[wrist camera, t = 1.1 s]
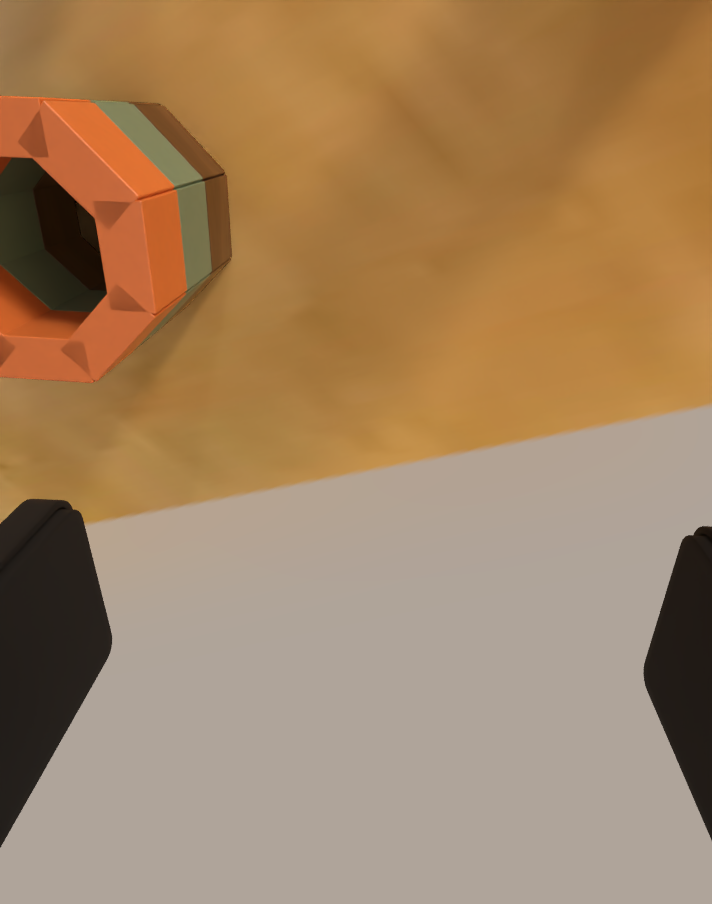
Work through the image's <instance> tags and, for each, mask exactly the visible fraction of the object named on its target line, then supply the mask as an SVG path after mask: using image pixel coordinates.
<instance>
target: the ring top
mask: <svg viewBox="0 0 712 904" xmlns="http://www.w3.org/2000/svg"><path fill="white" fill-rule="evenodd" d="M11 158H33V159H34V160H35V161H36V162H37V163H38V164H39V165H40V166H41V167H42V168H43V169H44V170H45V171H46V172H47V173H48V174H49V175H50V176H51V177H52V178H53V179H54V180H55V181H56V182H57V183H58V184H59V185H61V186H62V187H63V188H64V189H65V190H66V191H67V192H68V193H69V194H70V195H71V196H72V197H73V198H74V199H75V200H76V201H77V202H78V203H79V204H80V205H81V206H82V207H83V208H84V209H85V210H86V211H87V212H88V213H90V214H91V215H92V216H93V217H94V218H95V223H96V229H97V235H98V241H99V247H100V253H101V259H102V265H103V271H104V277H105V283H106V289H107V294H106V295H105V297H104V298H103V299H102V300H101V301H100V302H99V304H98V305H97V306H96V307H95V308H94V310H93V311H92V312H76V311H59V310H51V309H49V308H48V307H47V306H46V305H45V304H44V303H43V302H41V301H40V300H39V299H38V298H37V297H36V296H35V295H34V294H32V293H31V292H30V291H29V290H28V289H27V288H26V287H25V286H23V285H22V284H21V283H20V282H19V281H18V280H17V279H16V278H14V277H13V276H12V275H11V274H10V273H9V272H8V271H7V270H5V269H4V268H3V267H2V266H1V265H0V377H9V378H24V379H40V380H55V381H71V382H86V383H93V382H95V381H98V380H99V379H100V378H102V377H103V376H104V375H105V374H107V373H108V372H109V371H110V370H111V369H113V368H114V367H115V366H116V365H117V364H119V363H120V362H121V361H122V360H123V359H125V358H126V357H127V356H128V355H129V354H131V353H132V352H133V351H134V350H135V349H136V348H137V347H138V346H139V344H140V343H141V342H142V341H143V340H144V339H145V338H146V337H147V336H148V335H149V334H150V333H151V332H152V330H153V329H154V328H155V327H156V326H157V325H158V324H159V323H160V322H161V321H162V320H163V319H164V318H165V316H166V315H167V314H168V313H169V312H170V311H171V310H172V309H173V308H174V307H175V306H176V305H177V303H178V302H179V301H180V300H181V299H182V298H183V297H184V296H185V295H186V293H185V291H187V284H186V274H185V264H184V254H183V244H182V235H181V225H180V215H179V205H178V195H177V191H176V190H173V189H174V185H173V184H172V183H171V182H170V181H169V180H168V179H167V178H166V177H165V175H164V174H163V173H162V172H161V171H160V170H159V169H158V168H157V167H156V166H155V165H154V164H153V163H152V162H151V161H150V160H149V159H148V158H147V157H146V156H145V155H144V154H143V153H142V152H141V151H140V150H139V149H138V147H137V146H136V145H135V144H134V143H133V142H132V141H131V140H130V139H129V138H128V137H127V136H126V135H125V134H124V133H123V132H122V131H121V130H120V129H119V128H118V127H117V126H116V125H115V124H114V123H113V122H112V121H111V120H110V118H109V117H108V116H107V115H106V114H105V113H104V112H103V111H102V110H101V109H100V108H99V107H98V106H97V105H96V104H95V103H91V101H90V100H80V99H61V98H43V97H17V96H0V175H1V173H2V172H3V170H4V169H5V167H6V166H7V164H8V163H9V161H10V160H11Z"/></svg>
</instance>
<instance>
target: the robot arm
mask: <svg viewBox="0 0 712 904" xmlns="http://www.w3.org/2000/svg"><path fill="white" fill-rule="evenodd" d="M111 645H112V634H111V629H110V626H109V621H108V617H107V613H106V609H105V606H104V601H103V598H102V594H101V590H100V585H99V581H98V577H97V574H96V570H95V566H94V561H93V558H92V553H91V550H90V545H89V541H88V537H87V533H86V529H85V525H84V521H83V518H82V515H81V513H80V512H79V511H77V510H73V509H72V506H71V505H70V504H69V503H68V502H67V501H64V500H44V499H29V500H26V501H24V502H23V503H21V504H20V505H19V506H18V507H17V508H16V509H15V510H14V511H13V512H12V513H11V514H10V515H9V516H8V517H7V518H6V519H5V520H4V521H3V522H2V523H1V524H0V847H1V845H2V844H3V842H4V840H5V838H6V837H7V835H8V833H9V831H10V830H11V828H12V826H13V824H14V823H15V821H16V819H17V817H18V815H19V814H20V812H21V810H22V808H23V806H24V805H25V803H26V801H27V799H28V798H29V796H30V794H31V793H32V791H33V789H34V787H35V786H36V784H37V782H38V780H39V778H40V777H41V775H42V773H43V771H44V769H45V768H46V766H47V764H48V762H49V761H50V759H51V757H52V756H53V754H54V752H55V750H56V748H57V747H58V745H59V743H60V741H61V739H62V738H63V736H64V734H65V733H66V731H67V729H68V727H69V726H70V724H71V722H72V720H73V719H74V717H75V715H76V713H77V711H78V710H79V708H80V706H81V704H82V703H83V701H84V699H85V697H86V696H87V694H88V692H89V690H90V688H91V687H92V685H93V683H94V682H95V680H96V678H97V676H98V674H99V673H100V671H101V669H102V667H103V665H104V664H105V662H106V660H107V658H108V656H109V654H110V651H111ZM644 681H645V686H646V688H647V691H648V693H649V696H650V698H651V701H652V703H653V705H654V707H655V710H656V712H657V714H658V717H659V719H660V721H661V724H662V726H663V728H664V731H665V733H666V735H667V738H668V740H669V742H670V745H671V747H672V749H673V751H674V754H675V756H676V759H677V761H678V763H679V765H680V768H681V770H682V772H683V775H684V777H685V779H686V782H687V784H688V786H689V789H690V791H691V793H692V795H693V798H694V800H695V803H696V805H697V807H698V810H699V812H700V814H701V816H702V819H703V821H704V823H705V826H706V828H707V830H708V833H709V835H710V837H711V840H712V527H708V526H702V527H700V528H698V529H697V530H696V531H695V533H694V535H693V536H692V535H688V536H686V537H685V538H684V539H683V540H682V543H681V546H680V549H679V552H678V555H677V558H676V562H675V565H674V568H673V572H672V575H671V578H670V581H669V585H668V588H667V591H666V594H665V598H664V601H663V604H662V608H661V611H660V614H659V618H658V621H657V624H656V627H655V631H654V634H653V637H652V641H651V644H650V647H649V650H648V654H647V657H646V660H645V664H644Z"/></svg>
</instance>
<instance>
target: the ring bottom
mask: <svg viewBox="0 0 712 904" xmlns="http://www.w3.org/2000/svg"><path fill="white" fill-rule="evenodd" d="M128 103H129V104H134V105H135V106H136V108H137V109H138V110H139V111H140V112H141V113H142V114H143V115H144V116H145V117H146V118H147V119H148V120H149V121H150V122H151V123H152V124H153V126H154V127H155V128H156V129H157V130H158V131H159V132H160V133H161V134H162V135H163V136H164V137H165V138H166V139H167V140H168V141H169V143H170V144H171V145H172V146H173V147H174V148H175V149H176V150H177V151H178V152H179V153H180V154H181V155H182V156H183V157H184V158H185V159H186V161H187V162H188V163H189V164H190V165H191V166H192V167H193V168H194V169H195V170H196V171H197V172H198V173H199V174H200V175H201V176H202V177H203V179H202V181H204V182H205V191H206V204H207V216H208V228H209V241H210V253H211V266H212V272H211V273H210V276H209V277H208V278H207V280H206V281H205V282H204V283H203V284H202V285H201V286H200V287H199V288H198V289H197V290H196V291H195V292H194V294H193V295H192V296H191V297H190V298H189V299H188V300H187V301H186V302H185V303H184V304H183V305H182V306H181V307H180V309H179V310H178V311H177V312H176V313H175V314H174V315H173V316H172V317H171V318H170V319H169V320H168V321H167V322H166V324H167V323H168V322H169V321H170V320H172V319H173V318H174V317H175V316H176V315H178V314H179V313H180V312H181V311H182V310H184V309H185V308H186V307H187V306H188V305H189V304H190V303H191V302H192V300H193V299H194V298H195V297H196V296H197V295H198V294H199V293H200V292H201V291H202V290H203V289H204V288H205V287H206V286H207V284H208V283H209V282H210V281H211V280H212V279H213V278H214V277H215V276H216V275H217V274H218V273H219V272H220V271H221V270H222V268H223V267H224V266H225V265H226V264H227V263H228V262H229V261H230V260H231V259H230V257H232V251H231V236H230V220H229V205H228V189H227V176H226V175H223V174H224V173H225V172H224V170H223V169H222V168H221V167H220V166H219V165H218V164H217V163H216V162H215V160H214V159H213V158H212V157H211V156H210V155H209V154H208V153H207V152H206V151H205V150H204V149H203V147H202V146H201V145H200V144H199V143H198V142H197V141H196V140H195V139H194V138H193V137H192V136H191V135H190V133H189V132H188V131H187V130H186V129H185V128H184V127H183V126H182V125H181V124H180V123H179V122H178V120H177V119H176V118H175V117H174V116H173V115H172V114H171V113H170V112H169V111H168V110H167V109H166V108H165V106H161V105H160V104H156V103H137V102H128ZM33 195H34V200H35V205H36V210H37V214H38V219H39V224H40V229H41V234H42V239H43V243H44V248H45V250H46V251H47V252H48V253H49V254H51V255H52V256H53V257H54V258H55V259H56V260H57V261H58V262H59V263H60V264H61V265H62V266H64V267H65V268H66V269H67V270H68V271H69V272H70V273H71V274H72V275H73V276H74V277H76V278H77V279H78V280H79V281H80V282H81V283H82V284H83V285H84V286H85V287H86V288H88V289H89V290H100V291H107V289H106V283H105V277H104V271H103V265H102V259H101V255H100V254H99V253H98V252H97V251H96V250H95V249H94V248H93V247H92V246H91V245H90V244H89V243H88V242H86V241H85V240H84V239H83V238H82V237H81V236H80V230H79V224H78V219H77V213H76V207H75V202H74V198H73V197H72V196H71V195H70V194H69V193H68V192H67V191H66V190H65V189H64V188H63V187H62V186H61V185H59V184H58V183H57V182H56V181H55V180H54V179H53V178H52V177H51V176H50V175H49V174H48V173H47V172H46V171H45V173H44V174H43V176H42V177H41V178H40V180H39V181H38V183H37V184H36V185H35V187H34V188H33Z"/></svg>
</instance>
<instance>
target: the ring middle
mask: <svg viewBox="0 0 712 904" xmlns="http://www.w3.org/2000/svg"><path fill="white" fill-rule="evenodd" d="M90 101H91V103H95V104H96V105H97V106H98V107H99V108H100V109H101V110H102V111H103V112H104V113H105V114H106V115H107V116H108V117H109V118H110V120H111V121H112V122H113V123H114V124H115V125H116V126H117V127H118V128H119V129H120V130H121V131H122V132H123V133H124V134H125V135H126V136H127V137H128V138H129V139H130V140H131V141H132V142H133V143H134V144H135V145H136V146H137V147H138V149H139V150H140V151H141V152H142V153H143V154H144V155H145V156H146V157H147V158H148V159H149V160H150V161H151V162H152V163H153V164H154V165H155V166H156V167H157V168H158V169H159V170H160V171H161V172H162V173H163V174H164V175H165V177H166V178H167V179H168V180H169V181H170V182H171V183H172V184H173V185H174V189H173V190H176V191H177V195H178V205H179V215H180V225H181V235H182V244H183V254H184V264H185V274H186V284H187V291H185V293H186V295H185V296H184V297H183V298H182V299H181V300H180V301H179V302H178V303H177V305H176V306H175V307H174V308H173V309H172V310H171V311H170V312H169V313H168V314H167V315H166V316H165V318H164V319H163V320H162V321H161V322H160V323H159V324H158V325H157V326H156V327H155V328H154V329H153V330H152V332H151V333H150V334H149V335H148V336H147V337H146V338H145V339H144V340H143V341H142V342H141V343H140V344H139V346H140V345H141V344H142V343H144V342H145V341H146V340H147V339H149V338H150V337H151V336H152V335H153V334H155V333H156V332H157V331H158V330H159V329H161V328H162V327H163V326H164V325H165V324H166V322H167V321H168V320H169V319H170V318H171V317H172V316H173V315H174V314H175V313H176V312H177V311H178V310H179V309H180V307H181V306H182V305H183V304H184V303H185V302H186V301H187V300H188V299H189V298H190V297H191V296H192V295H193V294H194V292H195V291H196V290H197V289H198V288H199V287H200V286H201V285H202V284H203V283H204V282H205V281H206V280H207V278H208V277H209V276H210V273H211V272H212V266H211V253H210V241H209V228H208V216H207V204H206V191H205V182H204V181H202V179H203V177H202V176H201V175H200V174H199V173H198V172H197V171H196V170H195V169H194V168H193V167H192V166H191V165H190V164H189V163H188V162H187V161H186V159H185V158H184V157H183V156H182V155H181V154H180V153H179V152H178V151H177V150H176V149H175V148H174V147H173V146H172V145H171V144H170V143H169V141H168V140H167V139H166V138H165V137H164V136H163V135H162V134H161V133H160V132H159V131H158V130H157V129H156V128H155V127H154V126H153V124H152V123H151V122H150V121H149V120H148V119H147V118H146V117H145V116H144V115H143V114H142V113H141V112H140V111H139V110H138V109H137V108H136V106H135V105H134V104H129V103H128V102H119V101H100V100H90ZM44 173H45V170H44V169H43V168H42V167H41V166H40V165H39V164H38V163H37V162H36V161H35V160H34V159H33V158H11V160H10V161H9V163H8V164H7V166H6V167H5V169H4V170H3V172H2V173H1V175H0V265H1V266H2V267H3V268H4V269H5V270H7V271H8V272H9V273H10V274H11V275H12V276H13V277H14V278H16V279H17V280H18V281H19V282H20V283H21V284H22V285H23V286H25V287H26V288H27V289H28V290H29V291H30V292H31V293H32V294H34V295H35V296H36V297H37V298H38V299H39V300H40V301H41V302H43V303H44V304H45V305H46V306H47V307H48V308H49V309H51V310H59V311H76V312H92V311H93V310H94V308H95V307H96V306H97V305H98V304H99V302H100V301H101V300H102V299H103V298H104V297H105V295H106V294H107V291H100V290H89V289H88V288H86V287H85V286H84V285H83V284H82V283H81V282H80V281H79V280H78V279H77V278H76V277H74V276H73V275H72V274H71V273H70V272H69V271H68V270H67V269H66V268H65V267H64V266H62V265H61V264H60V263H59V262H58V261H57V260H56V259H55V258H54V257H53V256H52V255H51V254H49V253H48V252H47V251H46V250H45V248H44V243H43V239H42V234H41V229H40V224H39V219H38V214H37V210H36V205H35V200H34V195H33V188H34V187H35V185H36V184H37V183H38V181H39V180H40V178H41V177H42V176H43V174H44ZM139 346H138V347H139ZM138 347H137V348H138Z"/></svg>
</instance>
